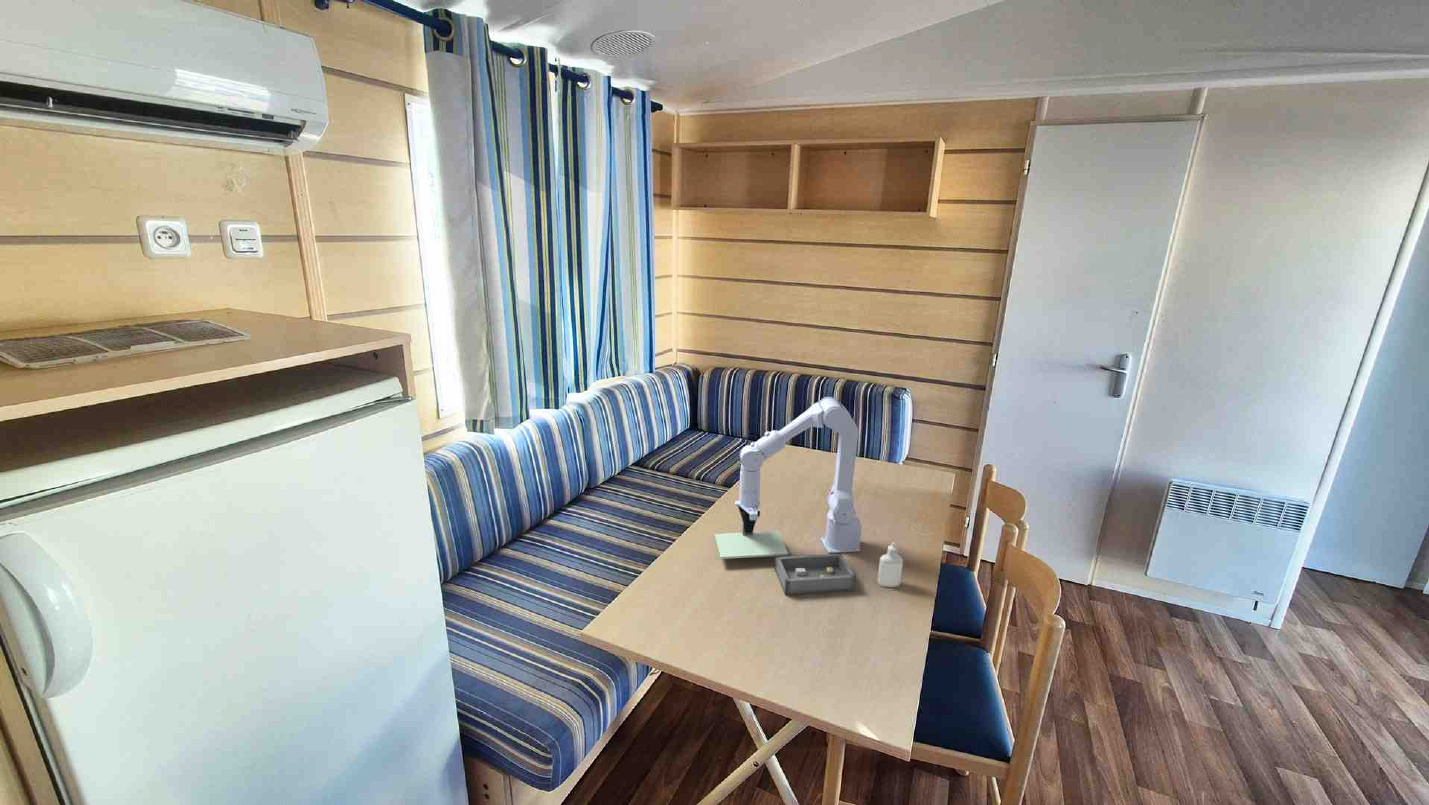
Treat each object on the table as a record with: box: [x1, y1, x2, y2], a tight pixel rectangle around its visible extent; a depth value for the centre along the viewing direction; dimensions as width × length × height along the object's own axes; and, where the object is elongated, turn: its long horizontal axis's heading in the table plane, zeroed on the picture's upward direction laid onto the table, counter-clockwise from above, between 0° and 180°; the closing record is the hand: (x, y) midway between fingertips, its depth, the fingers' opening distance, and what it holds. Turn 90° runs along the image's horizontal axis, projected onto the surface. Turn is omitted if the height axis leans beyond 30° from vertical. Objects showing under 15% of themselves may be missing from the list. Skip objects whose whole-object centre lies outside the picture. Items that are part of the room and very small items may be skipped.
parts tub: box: [774, 553, 856, 596], centre depth 149 cm, size 18×11×4 cm, turn 97°
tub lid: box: [714, 522, 789, 560], centre depth 160 cm, size 19×12×5 cm, turn 97°
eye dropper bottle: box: [877, 541, 904, 588], centre depth 147 cm, size 4×6×12 cm
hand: (748, 530), depth 165 cm, fingers closed on tub lid
